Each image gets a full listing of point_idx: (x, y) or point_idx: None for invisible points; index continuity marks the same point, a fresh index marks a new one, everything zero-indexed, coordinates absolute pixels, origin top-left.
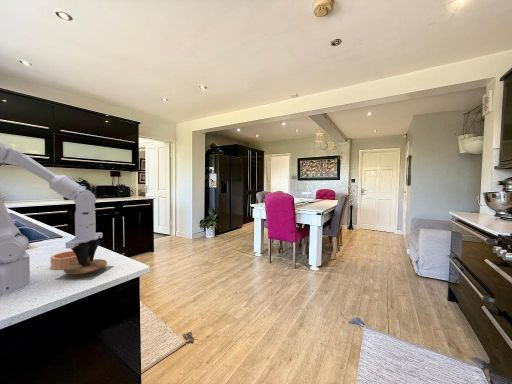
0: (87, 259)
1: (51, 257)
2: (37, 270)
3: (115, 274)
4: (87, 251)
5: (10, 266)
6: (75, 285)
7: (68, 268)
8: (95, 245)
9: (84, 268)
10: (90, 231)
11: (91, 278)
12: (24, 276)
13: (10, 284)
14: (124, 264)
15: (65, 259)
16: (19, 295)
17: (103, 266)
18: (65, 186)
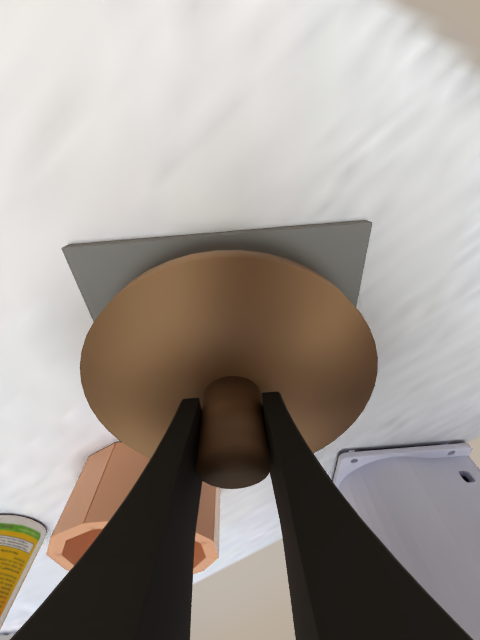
0: (250, 428)
1: (201, 569)
2: (222, 518)
3: (211, 87)
4: (324, 535)
5: None
6: (417, 279)
7: (305, 440)
8: (131, 635)
9: (309, 358)
10: None
11: (344, 241)
12: (426, 505)
13: (464, 489)
14: None
15: (201, 525)
16: (464, 419)
17: (211, 253)
18: None
